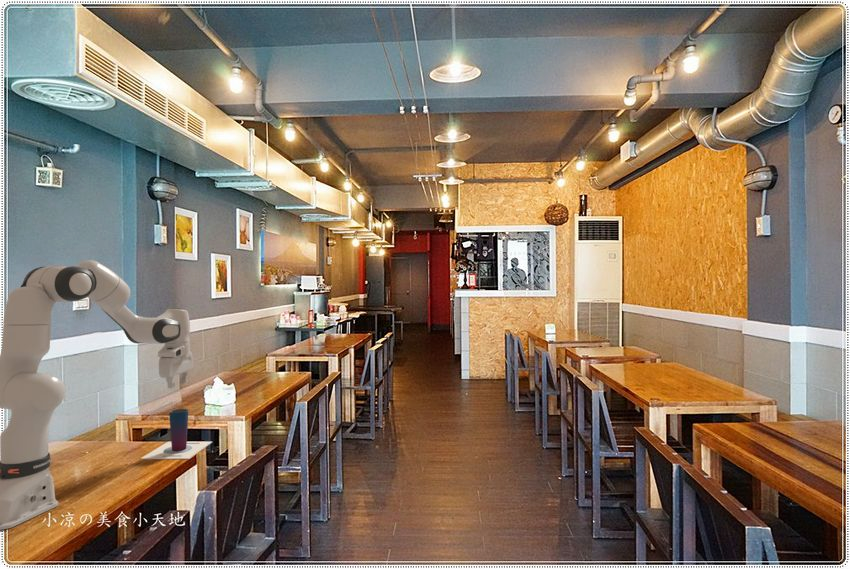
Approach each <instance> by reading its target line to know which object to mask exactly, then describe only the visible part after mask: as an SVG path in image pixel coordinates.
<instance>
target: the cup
mask: <svg viewBox="0 0 850 569" xmlns="http://www.w3.org/2000/svg"><path fill="white" fill-rule="evenodd" d="M168 412H169V413H168V414H169V416H168V417H169V427H170V440H171V441H170V442H171V444H172V451H182V450H185V449H186V445H187V442H188V427H189V425H188V424H189V412H190V411H189V408H185V407H183V408H182V407H181V408H173V409H171V410H169V411H168Z"/></svg>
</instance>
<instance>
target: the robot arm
mask: <svg viewBox="0 0 850 569" xmlns="http://www.w3.org/2000/svg"><path fill="white" fill-rule="evenodd" d="M130 297H131V288H130V286H129V284H128V283H127V282H125V281H124V280H123V278H121V277H120V276H119V275H118V274H117V273H116V272H114V271H113V270H111V269H109V268H108V267H107V266H105V265H104V264H102V263H100V262H98V261H97V260H93V259H89V260H88V259H87V260H83V261H81V262H79V263H77V265H74V266H65V265H64V266H62V265H51V266H39V267H36V268H33V269H32V270H30V271H29V272H28V273H27V274H26V275H25V277H24V279H23V282H22V284H21V285H20V287H18V288H15V289H14V290H12V291H11V292H10V293H9V294H8V296H7V301H6V303H5V304H6V305H5V308H4V315H3V322H2V323H3V326H2V340H1V351H0V409H4V410H11V415H10V418H9V421H8V425H7V426H6V428H5V429H3V430H2V432H1V433H0V531H1V530H6V529H7V530H8V529H11V528H14V527H15V526H18V525H20V524H22V523H24V522H27V521H28V520H31V519H33V518H35V517H37V516H39V515H41V514H43V513H46V512H47V511H49V510H53V509H54V508H56V507H58V506H59V501H58V500H57V499H56V494H55V486H54V478H53V477H54V476H53V475H52V474H51V472H50V466H51V461H52V460H51V453H50V452H49V432H50V431H49V429H50V423H51V420H52V418H53V415H54V411H55V410H56V408H58V406H60V405H61V403H62V402H63V401H64V399H65V397H66V385H65V384H64V382H63V380H61V379H59V378H58V377H55V376H53V375H51V374H48V373H44V372H43V373H42V372H41V373H40V372H38V369H39V365H40V364H41V361H42V359H43V357H45V355H47V354H48V353H49V351H50V348H51V347H50V345H51V326H52V325H51V324H52V309H53V307H54V305H55V304H56V303H64V302H67V303H68V302H78V301H82V300H84V299H86V298H89V299H90V300H91V301H92V302H94V304H96V305H98V307H100V309H101V310H102V312H104V314H106V315H107V316H108V317H109V318H110V319H111V320H113V322H114V323H116V324H117V325H118V327H120V328H121V329H122V330H123V333H124V334H125V337H127V339H128V340H129V341H130V342H131V343H132V344H138V345H139V344H159V345H160V344H164V346H163V347H162V348H160V350H158V351H157V356H158V358H159V360H158V375H159V376H160V378H162V379H163V378H164V379H165V381H166V383H167V388H168V389H173V388H175V382H174V376H178V375H181V376H180V377H181V378H179V381H180V384H187V377H188V375H189V371H193V369H194V354H193V352H192V351H191V347H190V346H191V345H190V344H191V341H190V340H191V339H190V331H191V330H190V329H191V328H190V327H191V326H190V324H191V323H190V315H189V312H188V310H186V309H185V308H182V307H181V308H179V307H168V308H166V310H165V311H164V312H163V313H162V314H160V315H158V316H156V317H147V316H146V317H145V316H140V315H136V314H134V312H133V311H132V310H130V308H128V307H127V306H126V305H127V303H128V301H129V300H130V299H131V298H130Z"/></svg>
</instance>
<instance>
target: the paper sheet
mask: <svg viewBox="0 0 850 569" xmlns="http://www.w3.org/2000/svg"><path fill="white" fill-rule="evenodd" d="M212 443H213V441H187V445H186V449H185V450H182V451H172V444H171V441H166V442H165V443H164V444H162V445H160V446H159V447H156V448H155V449H154V450H152V451H150V452H149V453H147V454H145V455H143V456H142V457H140V460H190V459H191V458H193V457H194V456H195V455H197V454H198V453H200V452H201V451H202V450H203V449H205V448H207V447H208V446H209V445H211V444H212Z"/></svg>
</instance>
